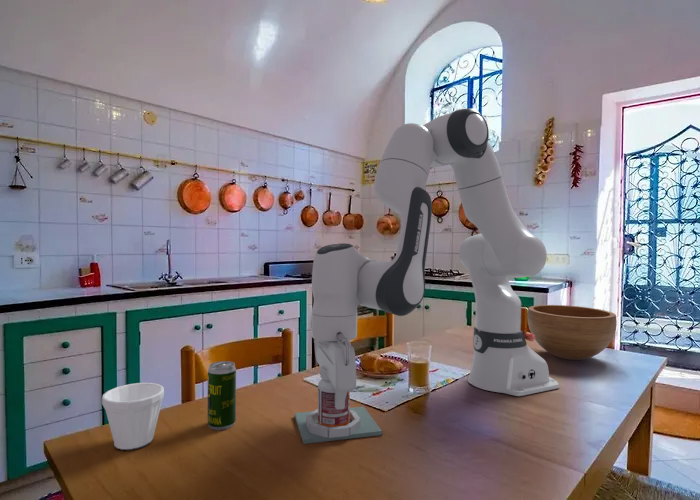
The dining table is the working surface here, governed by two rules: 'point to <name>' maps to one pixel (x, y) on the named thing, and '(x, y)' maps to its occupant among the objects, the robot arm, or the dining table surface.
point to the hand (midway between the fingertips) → (333, 398)
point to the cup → (133, 413)
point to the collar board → (357, 427)
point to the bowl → (571, 330)
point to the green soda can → (221, 395)
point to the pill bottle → (331, 404)
